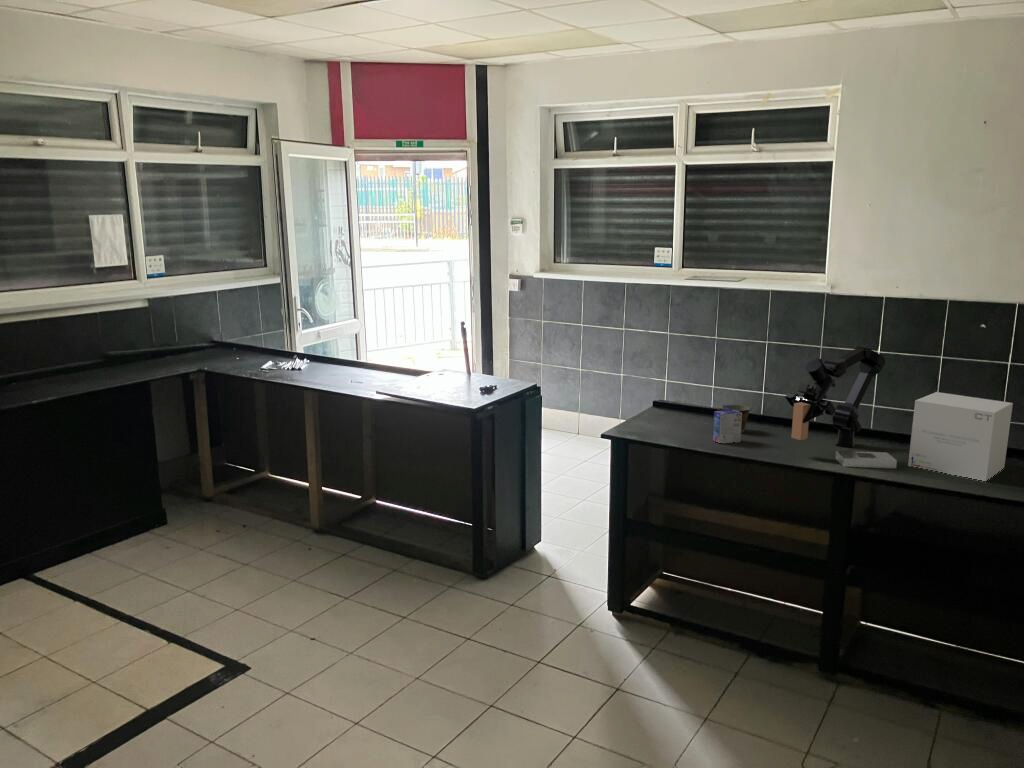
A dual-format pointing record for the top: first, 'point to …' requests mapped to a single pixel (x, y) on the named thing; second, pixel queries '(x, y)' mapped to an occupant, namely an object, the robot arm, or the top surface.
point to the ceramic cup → (744, 413)
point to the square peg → (800, 421)
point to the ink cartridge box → (727, 425)
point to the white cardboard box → (960, 435)
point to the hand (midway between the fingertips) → (798, 421)
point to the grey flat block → (866, 459)
